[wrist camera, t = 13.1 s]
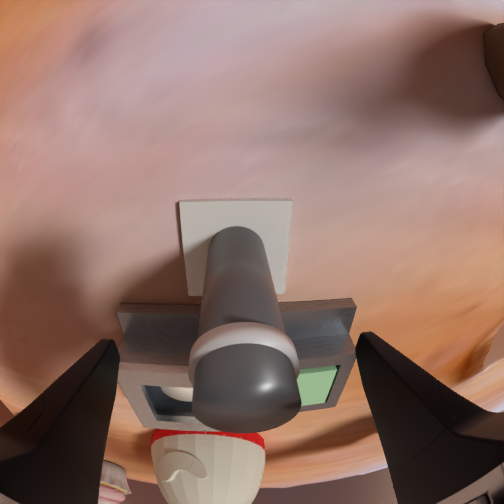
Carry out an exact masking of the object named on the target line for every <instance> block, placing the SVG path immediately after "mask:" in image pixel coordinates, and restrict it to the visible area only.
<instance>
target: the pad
mask: <svg viewBox="0 0 504 504" xmlns="http://www.w3.org/2000/svg"><path fill="white" fill-rule="evenodd" d="M179 206H180V219H181V231H182V242H183V252H184V262H185V271H186V279H187V288H188V296H202V294H203V286H204V278H205V270H206V263H207V255H208V248H209V244H210V242H211V240H212V238H213V237H214V236H215V235H216V234H217V233H218V232H219V231H221V230H223V229H225V228H228V227H232V226H242V227H246V228H249V229H251V230H253V231H254V232H255V233H257V234H258V235H259V236H260V238H261V239H262V241H263V244H264V247H265V251H266V255H267V259H268V263H269V267H270V271H271V275H272V280H273V284H274V288H275V292H276V294H285V284H286V273H287V262H288V251H289V239H290V226H291V213H292V200H291V199H203V200H180V202H179Z"/></svg>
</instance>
